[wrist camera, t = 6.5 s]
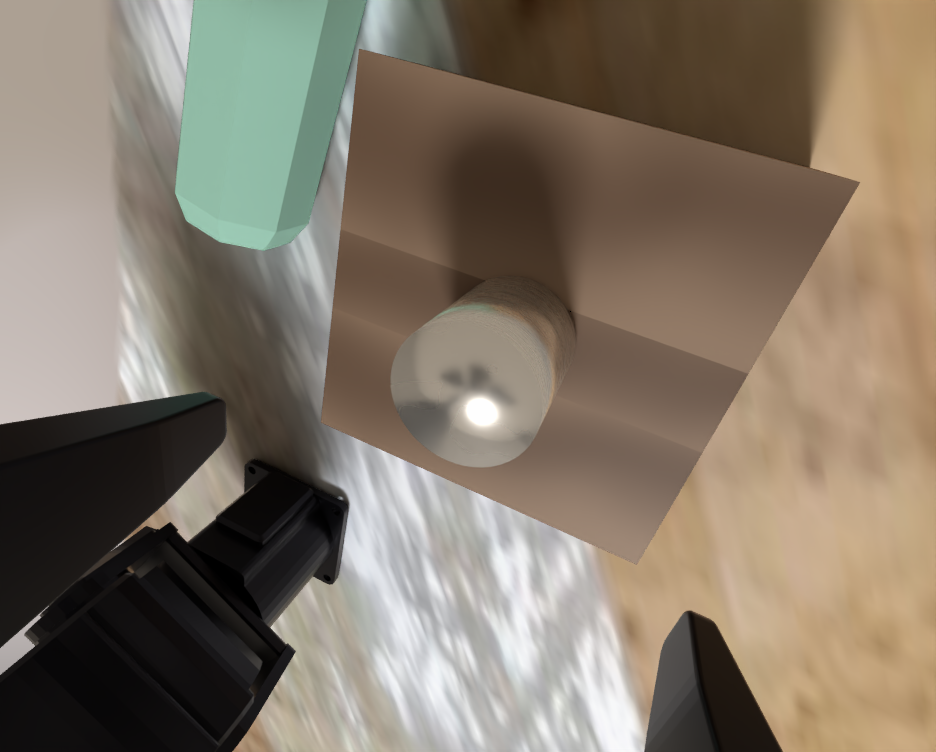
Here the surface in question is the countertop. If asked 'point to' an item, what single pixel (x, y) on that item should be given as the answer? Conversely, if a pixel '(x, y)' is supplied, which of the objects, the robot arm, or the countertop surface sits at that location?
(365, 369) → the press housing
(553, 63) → the countertop surface
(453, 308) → the silver metal peg
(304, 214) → the mint green octagonal rod
